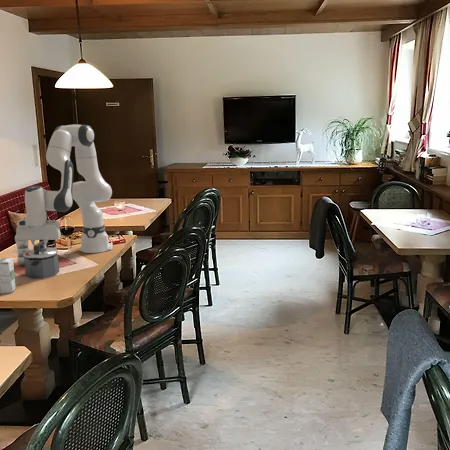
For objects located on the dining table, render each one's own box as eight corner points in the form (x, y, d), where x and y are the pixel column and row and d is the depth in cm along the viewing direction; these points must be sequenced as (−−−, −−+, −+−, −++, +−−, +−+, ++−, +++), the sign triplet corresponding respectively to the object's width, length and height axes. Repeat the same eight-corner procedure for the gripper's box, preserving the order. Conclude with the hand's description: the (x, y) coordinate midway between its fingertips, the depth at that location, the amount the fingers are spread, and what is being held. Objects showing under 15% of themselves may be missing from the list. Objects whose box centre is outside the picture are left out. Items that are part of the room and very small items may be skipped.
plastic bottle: (27, 267, 259) (22, 228, 255) (15, 266, 261) (10, 228, 256) (34, 263, 265) (30, 226, 261) (22, 262, 267) (18, 225, 262)
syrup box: (3, 289, 226) (-1, 258, 223) (16, 288, 227) (12, 257, 224) (-2, 293, 221) (-6, 261, 218) (12, 293, 221) (8, 261, 218)
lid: (31, 252, 253) (29, 240, 252) (62, 251, 253) (61, 239, 251) (18, 261, 238) (16, 248, 236) (51, 260, 238) (50, 247, 236)
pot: (35, 268, 257) (34, 250, 255) (63, 267, 257) (62, 250, 255) (20, 281, 237) (17, 262, 235) (50, 280, 237) (48, 261, 235)
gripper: (61, 218, 244) (63, 246, 247) (18, 219, 245) (22, 247, 248) (56, 221, 238) (59, 249, 241) (13, 222, 238) (16, 250, 241)
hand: (40, 248), depth 244 cm, fingers closed on lid, 2 cm apart
